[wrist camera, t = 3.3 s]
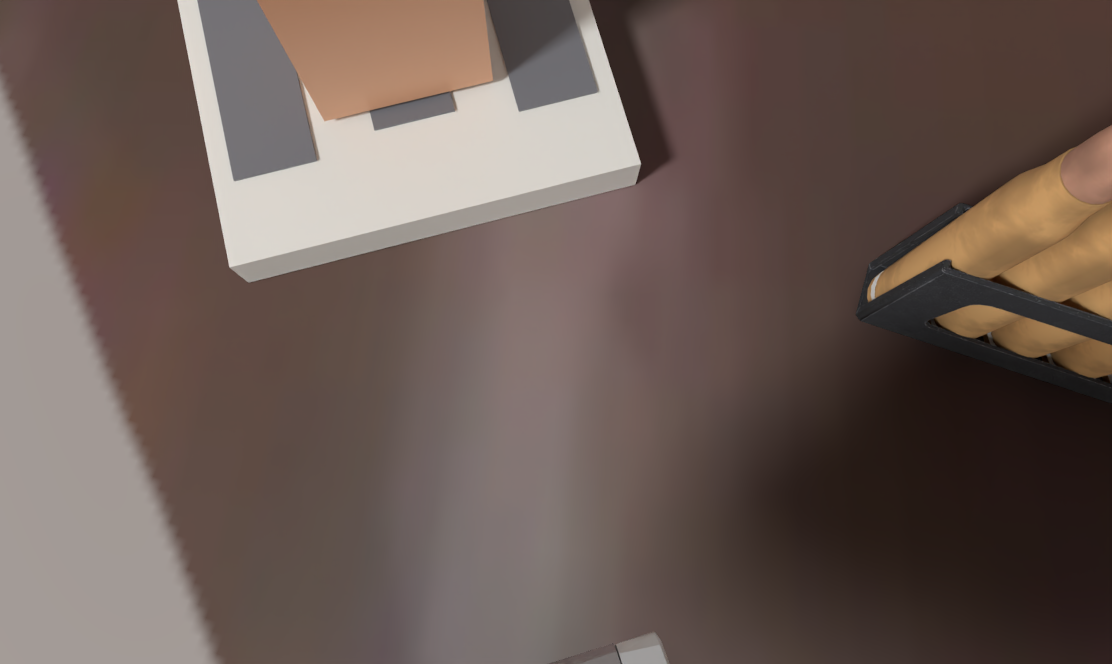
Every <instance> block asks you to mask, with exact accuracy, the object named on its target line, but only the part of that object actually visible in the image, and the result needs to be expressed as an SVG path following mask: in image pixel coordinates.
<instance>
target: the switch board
mask: <svg viewBox="0 0 1112 664" xmlns="http://www.w3.org/2000/svg"><path fill="white" fill-rule="evenodd" d="M178 6H179V11H180V16H181V21H182V26H183V31H184V36H185V41H186V47H187V52H188V57H189V62H190V67H191V72H192V77H193V82H194V88H195V93H196V98H197V103H198V108H199V113H200V118H201V123H202V129H203V134H204V139H205V144H206V149H207V154H208V159H209V164H210V170H211V175H212V180H213V185H214V190H215V195H216V200H217V205H218V211H219V216H220V221H221V226H222V231H223V236H224V241H225V246H226V252H227V257H228V262H229V267H230V268H231V269H232V270H233V271H235V272H236V273H237V274H239V275H240V276H241V277H242V278H244V279H245V280H246V281H247V282H253V281H257V280H261V279H265V278H269V277H273V276H277V275H281V274H284V273H288V272H292V271H296V270H300V269H304V268H308V267H312V266H316V265H320V264H324V263H328V262H332V261H336V260H340V259H344V258H348V257H352V256H355V255H359V254H363V253H367V252H371V251H375V250H379V249H383V248H387V247H391V246H395V245H399V244H403V243H407V242H411V241H415V240H419V239H423V238H426V237H430V236H434V235H438V234H442V233H446V232H450V231H454V230H458V229H462V228H466V227H470V226H474V225H478V224H482V223H486V222H490V221H494V220H498V219H501V218H505V217H509V216H513V215H517V214H521V213H525V212H529V211H533V210H537V209H541V208H545V207H549V206H553V205H557V204H561V203H565V202H569V201H572V200H576V199H580V198H584V197H588V196H592V195H596V194H600V193H604V192H608V191H612V190H616V189H620V188H624V187H628V186H632V185H636V181H637V177H638V173H639V170H640V166H641V162H640V159H639V156H638V153H637V149H636V146H635V143H634V140H633V137H632V134H631V131H630V128H629V124H628V121H627V118H626V115H625V112H624V109H623V106H622V103H621V99H620V96H619V93H618V90H617V87H616V84H615V81H614V77H613V74H612V71H611V68H610V65H609V62H608V59H607V56H606V52H605V49H604V46H603V43H602V40H601V37H600V34H599V31H598V27H597V24H596V21H595V18H594V15H593V12H592V9H591V5H590V2H589V0H484V8H485V17H486V25H487V33H488V42H489V50H490V59H491V67H492V75H493V81H490V82H486V83H482V84H478V85H474V86H469V87H465V88H461V89H457V90H453V91H449V92H444V93H440V94H436V95H432V96H428V97H424V98H420V99H415V100H411V101H407V102H403V103H399V104H395V105H391V106H386V107H382V108H378V109H374V110H370V111H366V112H361V113H357V114H353V115H349V116H345V117H341V118H337V119H332V120H328V121H324V120H323V118H322V116H321V114H320V112H319V111H318V109H317V107H316V105H315V103H314V102H313V100H312V98H311V96H310V95H309V93H308V91H307V89H306V87H305V86H304V84H303V82H302V80H301V78H300V77H299V75H298V73H297V71H296V69H295V68H294V66H293V64H292V62H291V61H290V59H289V57H288V55H287V53H286V52H285V50H284V48H283V46H282V44H281V43H280V41H279V39H278V37H277V35H276V34H275V32H274V30H273V28H272V27H271V25H270V23H269V21H268V19H267V18H266V16H265V14H264V12H263V10H262V9H261V7H260V5H259V3H258V1H257V0H178Z"/></svg>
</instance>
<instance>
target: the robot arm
mask: <svg viewBox="0 0 1112 664" xmlns="http://www.w3.org/2000/svg"><path fill="white" fill-rule="evenodd" d="M549 664H669V661H668V658H667V656H666V653H665V650H664V648H663V645H662V642H661V640H660V638H659V637H658V636H657V634H656V633H655V632H651V633H648V634H645V635H642V636H639V637H636V638H633V639H630V640H627V641H624V642H621V643H618V644H616V645H615V646H614V643H612V644H609V645H606V646H603V647H600V648H596V649H593V650H590V651H587V652H584V653H581V654H578V655H574V656H571V657H568V658H565V659H562V660H559V661H556V662H552V663H549Z"/></svg>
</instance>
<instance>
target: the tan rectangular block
mask: <svg viewBox="0 0 1112 664" xmlns="http://www.w3.org/2000/svg"><path fill="white" fill-rule="evenodd" d="M257 1H258V3H259V5H260V7H261V9H262V10H263V12H264V14H265V16H266V18H267V19H268V21H269V23H270V25H271V27H272V28H273V30H274V32H275V34H276V35H277V37H278V39H279V41H280V43H281V44H282V46H283V48H284V50H285V52H286V53H287V55H288V57H289V59H290V61H291V62H292V64H293V66H294V68H295V69H296V71H297V73H298V75H299V77H300V78H301V80H302V82H303V84H304V86H305V87H306V89H307V91H308V93H309V95H310V96H311V98H312V100H313V102H314V103H315V105H316V107H317V109H318V111H319V112H320V114H321V116H322V118H323V120H324V121H328V120H332V119H337V118H341V117H345V116H349V115H353V114H357V113H361V112H366V111H370V110H374V109H378V108H382V107H386V106H391V105H395V104H399V103H403V102H407V101H411V100H415V99H420V98H424V97H428V96H432V95H436V94H440V93H444V92H449V91H453V90H457V89H461V88H465V87H469V86H474V85H478V84H482V83H486V82H490V81H493V75H492V67H491V59H490V50H489V42H488V33H487V25H486V17H485V8H484V0H257Z"/></svg>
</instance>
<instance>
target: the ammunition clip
mask: <svg viewBox="0 0 1112 664" xmlns="http://www.w3.org/2000/svg"><path fill="white" fill-rule="evenodd" d="M856 316H857V317H858V319H859V320H860V321H862V322H865V323H868V324H872V325H875V326H878V327H881V328H884V329H887V330H890V331H893V332H896V333H899V334H902V335H905V336H908V337H911V338H914V339H917V340H920V341H923V342H926V343H929V344H932V345H935V346H938V347H941V348H944V349H947V350H951V351H954V352H957V353H960V354H963V355H966V356H969V357H972V358H975V359H978V360H981V361H984V362H987V363H990V364H993V365H996V366H999V367H1002V368H1005V369H1008V370H1011V371H1014V372H1017V373H1020V374H1023V375H1026V376H1030V377H1033V378H1036V379H1039V380H1042V381H1045V382H1048V383H1051V384H1054V385H1057V386H1060V387H1063V388H1066V389H1069V390H1072V391H1075V392H1078V393H1081V394H1084V395H1087V396H1090V397H1093V398H1096V399H1099V400H1102V401H1105V402H1109V403H1112V125H1111V126H1109V127H1107V128H1105V129H1104V130H1102V131H1100V132H1098V133H1097V134H1095V135H1094V136H1092V137H1090V138H1089V139H1087V140H1086V141H1084V142H1083V143H1081V144H1080V145H1078V146H1077V147H1075V148H1072V149H1070V150H1068V151H1066V152H1065V153H1063V154H1061V155H1060V156H1058V157H1057V158H1055V159H1053V160H1052V161H1050V162H1048V163H1047V164H1045V165H1042V166H1039V167H1037V168H1034V169H1031V170H1029V171H1026V172H1024V173H1021V174H1019V175H1018V176H1016V177H1014V178H1013V179H1011V180H1010V181H1009V182H1007V183H1006V184H1004V185H1003V186H1002V187H1000V188H999V189H997V190H996V191H995V192H993V193H992V194H990V195H989V196H988V197H986V198H985V199H983V200H982V201H980V202H979V203H978V204H976V205H975V206H970V205H967V204H964V203H959V204H957V205H956V206H954V207H953V208H951V209H950V210H949V211H947V212H946V213H944V214H943V215H941V216H940V217H938V218H937V219H935V220H934V221H932V222H931V223H929V224H928V225H926V226H925V227H923V228H922V229H920V230H919V231H917V232H916V233H914V234H913V235H911V236H910V237H908V238H907V239H905V240H904V241H902V242H901V243H899V244H898V245H896V246H895V247H893V248H892V249H890V250H889V251H887V252H886V253H884V254H883V255H881V256H880V257H878V258H877V259H875V260H874V261H872V262H871V263H869V267H868V270H867V274H866V278H865V282H864V285H863V289H862V293H861V296H860V300H859V304H858V308H857V311H856Z"/></svg>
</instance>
